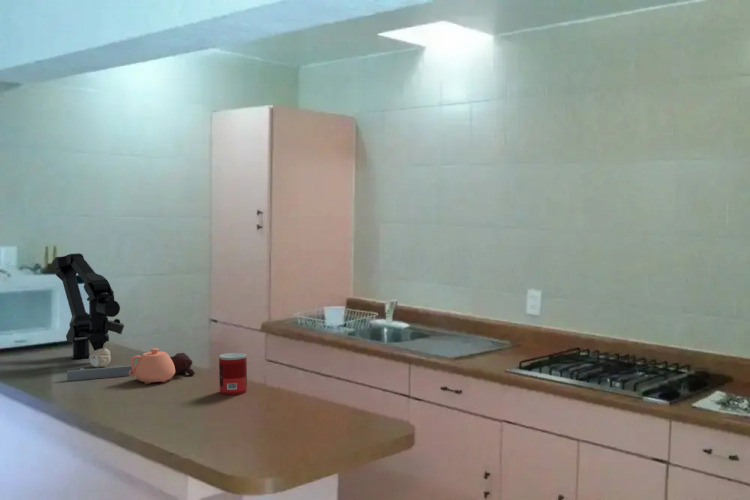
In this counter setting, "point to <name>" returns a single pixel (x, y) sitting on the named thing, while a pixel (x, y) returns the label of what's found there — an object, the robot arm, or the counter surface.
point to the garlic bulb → (100, 357)
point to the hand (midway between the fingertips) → (99, 358)
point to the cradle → (98, 373)
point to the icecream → (182, 363)
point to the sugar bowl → (153, 367)
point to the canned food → (233, 373)
